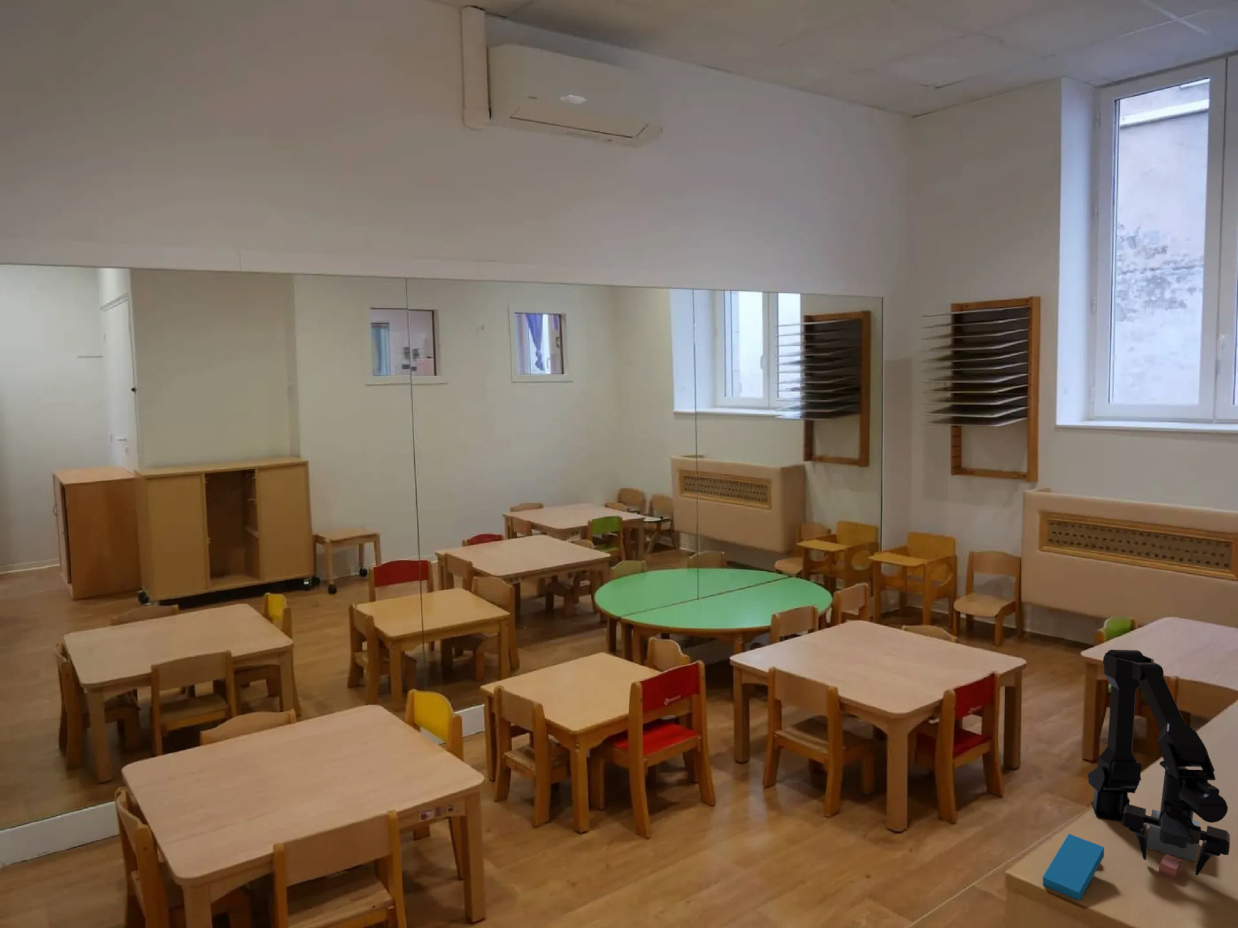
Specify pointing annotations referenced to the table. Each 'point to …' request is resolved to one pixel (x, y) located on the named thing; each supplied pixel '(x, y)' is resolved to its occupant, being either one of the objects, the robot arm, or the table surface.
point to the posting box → (1157, 845)
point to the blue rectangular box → (1073, 866)
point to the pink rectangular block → (1170, 866)
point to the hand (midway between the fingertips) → (1170, 866)
